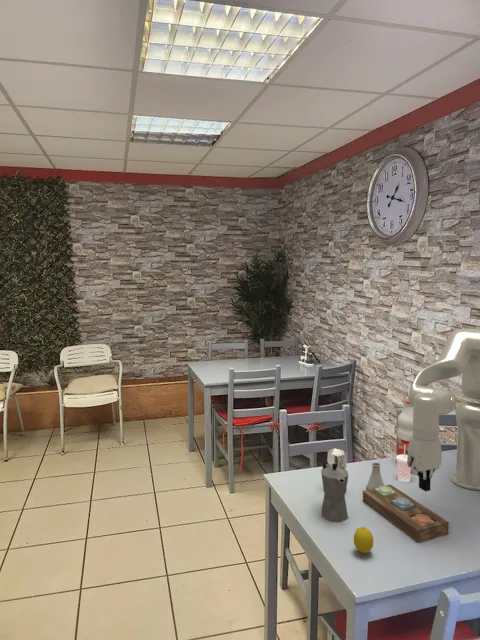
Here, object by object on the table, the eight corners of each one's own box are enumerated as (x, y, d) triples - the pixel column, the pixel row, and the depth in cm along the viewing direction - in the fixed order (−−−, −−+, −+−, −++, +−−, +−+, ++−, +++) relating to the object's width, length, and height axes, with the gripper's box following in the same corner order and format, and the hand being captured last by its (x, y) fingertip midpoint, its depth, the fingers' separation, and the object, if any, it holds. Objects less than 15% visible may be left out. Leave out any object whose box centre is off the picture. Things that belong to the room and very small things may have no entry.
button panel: (389, 494, 167) (390, 484, 166) (448, 534, 142) (448, 521, 141) (362, 501, 162) (362, 490, 162) (418, 543, 137) (418, 530, 137)
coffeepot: (356, 523, 148) (356, 470, 146) (329, 527, 146) (329, 474, 144) (336, 500, 163) (336, 452, 161) (311, 503, 161) (311, 455, 159)
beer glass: (325, 493, 169) (325, 454, 167) (329, 484, 175) (329, 447, 173) (344, 496, 166) (344, 457, 164) (347, 487, 172) (347, 449, 171)
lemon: (351, 548, 136) (351, 522, 135) (369, 546, 136) (369, 521, 135) (357, 559, 130) (357, 533, 129) (376, 558, 131) (376, 532, 130)
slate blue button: (403, 504, 155) (403, 495, 155) (414, 511, 150) (414, 502, 150) (391, 507, 153) (391, 498, 153) (402, 514, 149) (402, 505, 148)
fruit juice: (424, 468, 188) (426, 402, 185) (403, 470, 186) (405, 403, 183) (412, 459, 197) (414, 396, 194) (392, 461, 195) (393, 397, 192)
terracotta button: (423, 521, 147) (423, 512, 146) (434, 529, 142) (435, 520, 142) (410, 524, 145) (410, 515, 145) (422, 533, 140) (422, 523, 140)
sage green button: (385, 492, 163) (386, 484, 163) (395, 499, 159) (395, 490, 158) (374, 495, 161) (374, 487, 161) (383, 501, 157) (383, 493, 156)
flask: (386, 494, 167) (387, 468, 166) (366, 493, 168) (366, 467, 167) (384, 485, 174) (385, 460, 173) (365, 484, 175) (365, 459, 174)
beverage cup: (413, 478, 179) (414, 444, 178) (410, 484, 174) (411, 449, 173) (397, 474, 183) (398, 441, 181) (393, 480, 177) (394, 446, 176)
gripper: (434, 425, 148) (433, 479, 150) (398, 433, 142) (397, 488, 145) (453, 433, 141) (451, 489, 143) (415, 441, 135) (414, 500, 138)
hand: (424, 489), depth 144 cm, fingers closed
